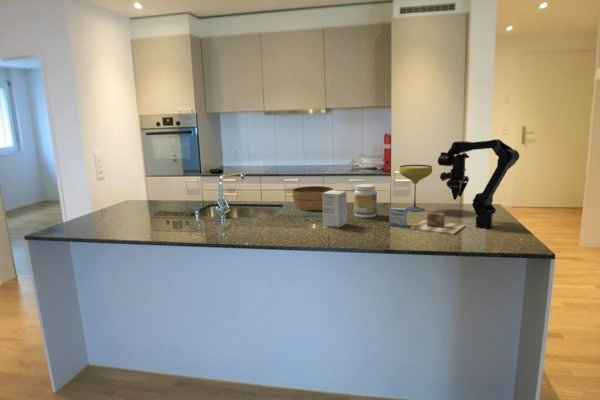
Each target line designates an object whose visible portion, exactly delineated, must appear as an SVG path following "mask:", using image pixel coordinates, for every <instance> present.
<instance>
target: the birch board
mask: <svg viewBox="0 0 600 400" xmlns="http://www.w3.org/2000/svg"><path fill="white" fill-rule="evenodd" d="M465 226H466V224H460V223H453V222H451V223H450V222H446V221H444V226H443V227H442V228H440V227H432V226H427V219H424V220H422V221H420V222H418V223H416V224H415V225H413V226H411V227H410V230H412V231H419V232H421V231H422V232H427V233H435V234H444V235H450V236H454V235H455V234H456V233H458V232H460V231H461V230H462V229H464V227H465Z"/></svg>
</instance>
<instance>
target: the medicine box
mask: <svg viewBox="0 0 600 400" xmlns="http://www.w3.org/2000/svg"><path fill="white" fill-rule="evenodd" d="M406 208H407V207H404V208H402V207H391V208H389V216H388V217H389V219H388V223H389V224H388V225H389V227H398V228H405V227H407V226H408V211H407V209H406Z"/></svg>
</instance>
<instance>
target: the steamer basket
mask: <svg viewBox="0 0 600 400" xmlns="http://www.w3.org/2000/svg"><path fill="white" fill-rule="evenodd" d="M330 190H334V188H332V187H330V186H324V185H323V186H322V185H321V186H320V185H319V186H318V185H312V186H311V185H310V186H309V185H307V186H301V187H300V186H299V187H295V188H293V189H292V190H291V192H292V200H293V201H292V202H293V203H292V204H293V209H295V208H296V209H295V210H298V209H300V210H299V211H305V210H317V211H323V200H322V193H325V192H327V191H330Z"/></svg>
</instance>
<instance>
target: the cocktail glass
mask: <svg viewBox="0 0 600 400" xmlns="http://www.w3.org/2000/svg"><path fill="white" fill-rule="evenodd" d="M398 170H399V171H398V172H399V174H400V175H401V176H402V177H404V178H406V179H408V180H409V181H410V182H412V183H413V184H414V196H413V197H414V199H413V206H410V207H405V208H406V209H407V212H408V211H409V212H415V213H417V212H422V211H425V208H423V207H419V206H417V204H416V203H417V202H416V197H417V195H416V194H417V191H416V189H417V187H416V186H417V184H418V183H419V182H420V181H421V180H423V179H425V178H427V177H429V176H430V175H432V173H433V166H432V165H428V164H404V165H400V166H399V168H398Z"/></svg>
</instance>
